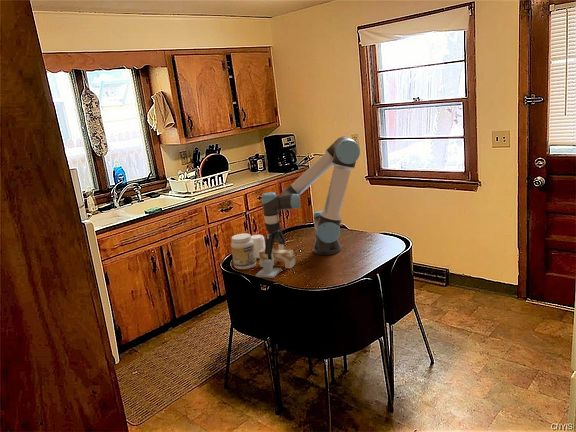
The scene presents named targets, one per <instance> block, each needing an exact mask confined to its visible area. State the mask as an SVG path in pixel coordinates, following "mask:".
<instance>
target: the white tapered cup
mask: <svg viewBox="0 0 576 432" xmlns="http://www.w3.org/2000/svg"><path fill="white" fill-rule="evenodd" d="M251 239H252V240H253V242H254V250H255V257H256V259H260V257H259V251H261V250H262V249H265V245H266V239H265V236H264V235H263V234H253V235H251Z"/></svg>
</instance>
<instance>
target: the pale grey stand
mask: <svg viewBox="0 0 576 432" xmlns="http://www.w3.org/2000/svg"><path fill="white" fill-rule="evenodd" d="M262 263H263V267H262V268H261V270H259V271H258V272H257V273H256V274H255V278H256V277H257V278H271V279H274V278H275V277H276V276H277V275H278V274H279V273H280V272H281V271H282V268H281V267H274V266H273V264H272V260H267V259H265V260H264V261H262Z"/></svg>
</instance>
